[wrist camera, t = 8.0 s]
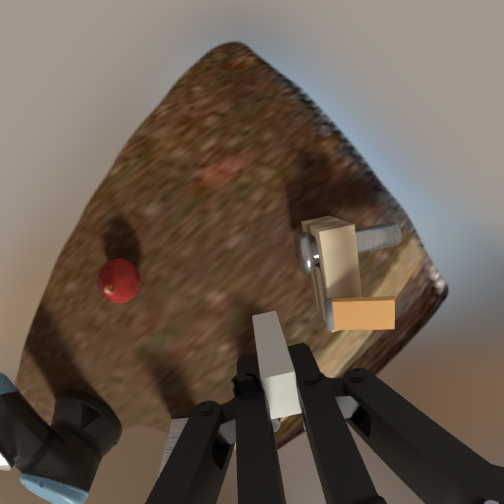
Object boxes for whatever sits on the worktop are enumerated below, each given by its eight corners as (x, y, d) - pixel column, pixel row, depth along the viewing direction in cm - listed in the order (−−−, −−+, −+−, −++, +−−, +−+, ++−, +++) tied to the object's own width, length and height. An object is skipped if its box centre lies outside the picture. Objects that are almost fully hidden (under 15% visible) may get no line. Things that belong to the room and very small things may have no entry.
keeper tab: (328, 324, 32) (325, 330, 31) (325, 297, 31) (322, 302, 30) (394, 324, 28) (394, 329, 27) (394, 295, 28) (394, 300, 27)
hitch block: (313, 303, 41) (331, 332, 32) (300, 221, 38) (319, 231, 29) (339, 296, 41) (362, 323, 32) (329, 215, 38) (354, 224, 29)
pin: (298, 268, 37) (307, 280, 32) (291, 230, 36) (300, 237, 31) (388, 247, 37) (407, 256, 32) (385, 211, 36) (404, 216, 31)
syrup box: (210, 434, 46) (205, 494, 32) (181, 437, 46) (171, 495, 32) (200, 415, 45) (192, 478, 31) (170, 418, 45) (156, 478, 31)
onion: (125, 298, 40) (103, 321, 32) (103, 265, 38) (77, 282, 30) (154, 280, 39) (136, 301, 31) (132, 245, 38) (109, 259, 30)
